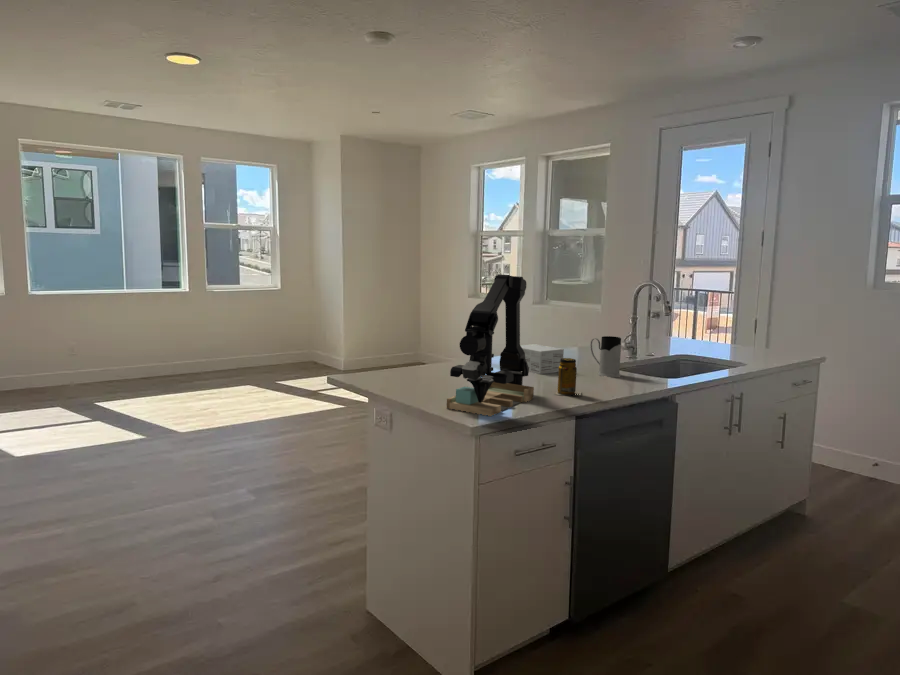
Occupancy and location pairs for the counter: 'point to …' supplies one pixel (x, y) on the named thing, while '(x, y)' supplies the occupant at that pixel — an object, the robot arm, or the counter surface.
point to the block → (466, 395)
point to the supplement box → (542, 358)
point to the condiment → (567, 377)
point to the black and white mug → (609, 356)
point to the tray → (496, 399)
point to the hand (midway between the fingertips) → (480, 402)
